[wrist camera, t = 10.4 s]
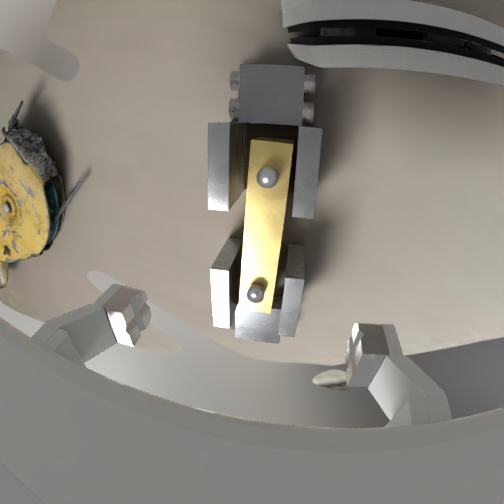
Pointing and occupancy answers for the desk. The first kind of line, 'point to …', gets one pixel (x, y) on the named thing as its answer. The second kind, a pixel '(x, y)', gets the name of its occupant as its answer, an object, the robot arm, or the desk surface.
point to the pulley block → (27, 197)
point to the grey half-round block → (393, 48)
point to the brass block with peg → (264, 220)
